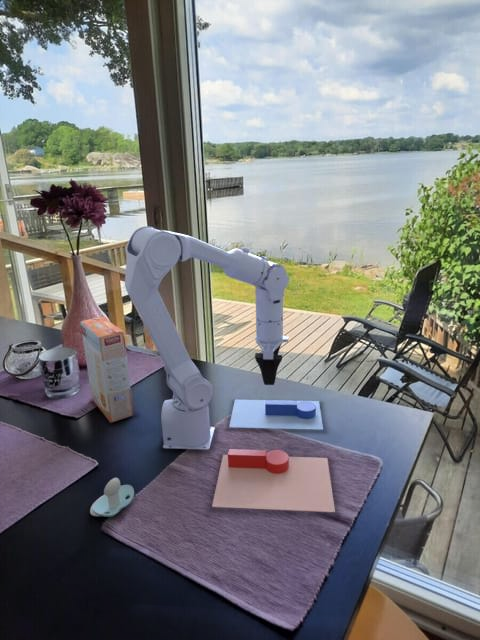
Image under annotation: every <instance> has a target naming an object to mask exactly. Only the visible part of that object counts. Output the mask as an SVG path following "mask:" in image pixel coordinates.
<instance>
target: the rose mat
mask: <svg viewBox="0 0 480 640" xmlns="http://www.w3.org/2000/svg"><path fill="white" fill-rule="evenodd" d="M211 508H224V509H225V508H228V509H229V508H230V509H249V510H251V509H252V510H274V511H295V512H297V511H298V512H317V513H336V508H335V501H334V495H333V488H332V480H331V474H330V466H329V460H328V457H312V456H308V457H307V456H289V468H288V470H287V471H286V472H284V473H280V474H275V473H271V472H269V471H268V470H267V469H260V468H231V467H228V454H222V458H221V462H220V467H219V473H218V477H217V481H216V486H215V491H214V496H213V500H212V505H211Z"/></svg>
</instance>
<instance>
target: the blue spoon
mask: <svg viewBox="0 0 480 640" xmlns="http://www.w3.org/2000/svg"><path fill="white" fill-rule="evenodd" d="M265 400H266V401H265V415H279V416H298V417H299V418H302V419H311V418H314V417H315V415H316V406H315V404H314V403H312V402H308V401H309V400H302V401H303V402H299V403H297V401H298V400H289V401H276V400H277V399H274V400H273V399H265Z"/></svg>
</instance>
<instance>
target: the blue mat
mask: <svg viewBox="0 0 480 640" xmlns="http://www.w3.org/2000/svg"><path fill="white" fill-rule="evenodd" d="M266 400H267V399H234V403H233V407H232V412H231V415H230V416H231V417H230V421H229V426H228V427H229V428H236V429H237V428H240V429H274V430H275V429H281V430H315V431H316V430H317V431H318V430H321V431H324V426H323V419H322V411H321V405H320V400H307V401H308V402H312V403H314V404H315V406H316V415H315V417H314V418H311V419H302V418H299V417H298V416H279V415H265V401H266ZM275 400H276V401H290V400H289V399H288V400H285V399H282V400H280V399H279V400H278V399H275ZM296 401H297V403H299V402H303V401H304V400H296Z"/></svg>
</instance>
